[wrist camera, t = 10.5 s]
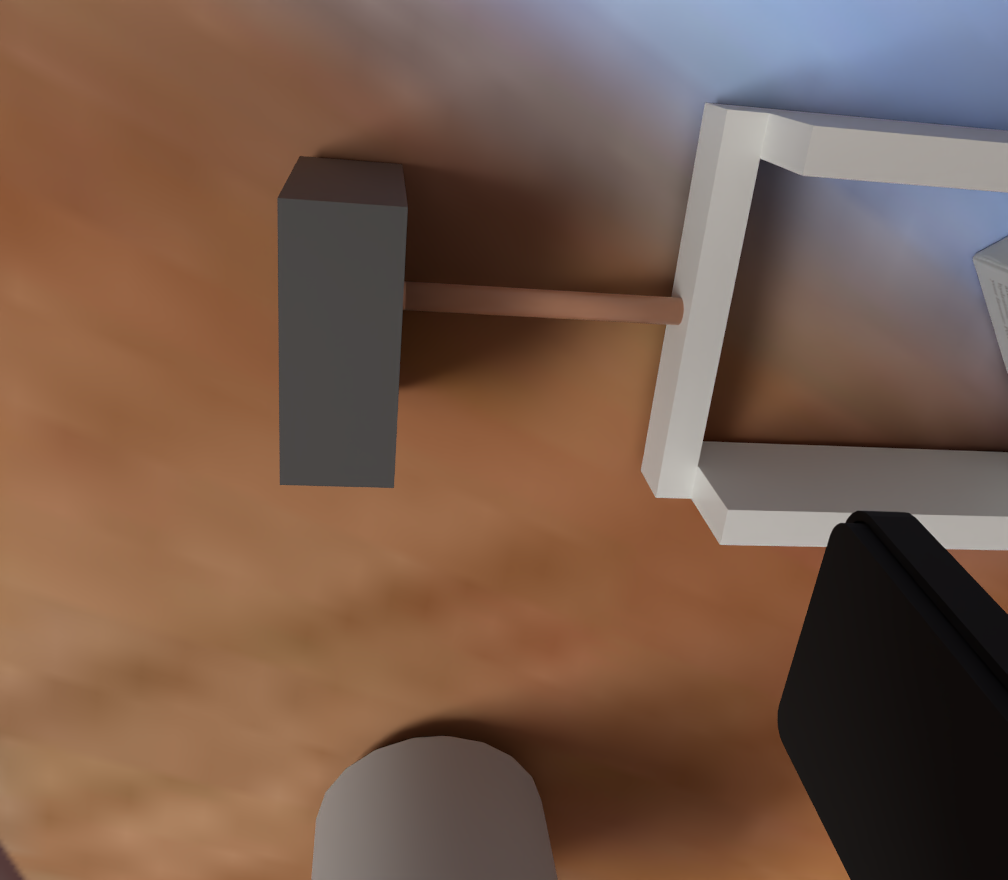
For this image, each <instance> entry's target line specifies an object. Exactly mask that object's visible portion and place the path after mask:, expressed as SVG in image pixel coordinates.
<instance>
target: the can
mask: <svg viewBox="0 0 1008 880" xmlns="http://www.w3.org/2000/svg"><path fill="white" fill-rule="evenodd" d="M312 880H558V879H557V874H556V869H555V864H554V859H553V854H552V849H551V844H550V839H549V835H548V830H547V825H546V820H545V815H544V810H543V805H542V801H541V798H540V796H539V793H538V791H537V788H536V785H535V783H534V780H533V778H532V776H531V775H530V774H529V773H528V772H527V771H526V770H525V769H524V768H523V767H522V766H521V765H520V764H519V763H518V762H517V761H516V760H515V759H514V758H513V757H512V756H510V755H508V754H506V753H504V752H502V751H500V750H498V749H496V748H494V747H492V746H490V745H488V744H486V743H484V742H478V741H473V740H467V739H462V738H456V737H451V736H430V737H415V738H411V739H408V740H405V741H402V742H399V743H395V744H392V745H389V746H386V747H383V748H380V749H377V750H374V751H373V752H371V753H370V754H368V755H367V756H365V757H363V758H362V759H360V760H359V761H357V762H356V763H354V764H352V765H351V766H349V767H348V768H346V769H345V770H344V771H343V773H342V774H341V775H340V776H339V777H338V779H337V780H336V781H335V782H334V783H333V784H332V786H331V787H330V788H329V789H328V790H327V791H326V793H325V796H324V798H323V801H322V804H321V807H320V810H319V813H318V815H317V818H316V828H315V841H314V854H313V867H312Z"/></svg>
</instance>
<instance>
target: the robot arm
mask: <svg viewBox="0 0 1008 880" xmlns="http://www.w3.org/2000/svg"><path fill="white" fill-rule="evenodd" d="M778 729H779V734H780V738H781V740H782V743H783V745H784V747H785V749H786V751H787V753H788V755H789V757H790V759H791V761H792V763H793V765H794V767H795V769H796V771H797V773H798V775H799V777H800V779H801V781H802V783H803V785H804V787H805V789H806V791H807V793H808V795H809V797H810V799H811V801H812V803H813V805H814V807H815V809H816V811H817V813H818V815H819V817H820V819H821V821H822V823H823V825H824V827H825V829H826V831H827V833H828V835H829V837H830V839H831V841H832V843H833V845H834V847H835V849H836V851H837V853H838V855H839V857H840V859H841V861H842V863H843V865H844V867H845V869H846V871H847V873H848V875H849V877H850V879H851V880H1008V614H1007V613H1006V612H1005V611H1004V610H1003V609H1002V608H1001V607H1000V606H999V605H998V604H997V603H996V602H995V601H994V600H993V599H992V598H991V596H990V595H989V594H988V593H987V592H986V591H985V590H984V589H983V588H982V587H981V586H980V585H979V584H978V583H977V582H976V581H975V580H974V579H973V577H972V576H971V575H970V574H969V573H968V572H967V571H966V570H965V569H964V568H963V567H962V566H961V565H960V564H959V563H958V562H957V561H956V560H955V559H954V557H953V556H952V555H951V554H950V553H949V552H948V551H947V550H946V549H945V548H944V547H943V546H942V545H941V544H940V543H939V542H938V541H937V540H936V538H935V537H934V536H933V535H932V534H931V533H930V532H929V531H928V530H927V529H926V528H925V527H924V526H923V525H922V524H921V523H920V522H919V521H918V519H917V518H916V517H914V516H913V515H911V514H910V513H906V512H888V511H856V512H854V513H852V514H851V515H850V516H849V517H848V519H847V520H846V523H839V524H837V525H836V526H835V527H834V528H833V529H832V532H831V534H830V537H829V540H828V544H827V547H826V550H825V554H824V557H823V560H822V564H821V567H820V570H819V574H818V577H817V580H816V584H815V587H814V590H813V594H812V597H811V600H810V604H809V607H808V611H807V614H806V617H805V621H804V624H803V627H802V631H801V634H800V637H799V641H798V644H797V647H796V651H795V654H794V657H793V661H792V664H791V667H790V671H789V674H788V677H787V681H786V684H785V688H784V691H783V694H782V698H781V701H780V704H779V709H778Z"/></svg>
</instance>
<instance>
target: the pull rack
mask: <svg viewBox="0 0 1008 880" xmlns="http://www.w3.org/2000/svg"><path fill="white" fill-rule="evenodd" d="M760 159H763V160H765V161H767V162H770V163H772V164H775V165H777V166H780V167H782V168H785V169H787V170H789V171H792V172H794V173H797V174H799V175H802V176H811V177H824V178H836V179H848V180H860V181H873V182H885V183H897V184H909V185H922V186H934V187H946V188H958V189H970V190H983V191H995V192H1007V193H1008V131H1006V130H996V129H985V128H974V127H963V126H953V125H942V124H931V123H920V122H909V121H899V120H888V119H877V118H866V117H855V116H845V115H834V114H823V113H812V112H801V111H791V110H780V109H769V108H758V107H747V106H737V105H726V104H715V103H705V107H704V112H703V118H702V124H701V129H700V135H699V141H698V147H697V152H696V158H695V164H694V170H693V175H692V181H691V187H690V193H689V198H688V204H687V210H686V215H685V221H684V227H683V233H682V238H681V244H680V250H679V256H678V261H677V267H676V273H675V279H674V284H673V290H672V296H671V297H661V296H644V295H627V294H611V293H594V292H577V291H561V290H544V289H527V288H510V287H494V286H477V285H460V284H443V283H427V282H410V281H404V274H405V254H406V234H407V214H408V205H407V197H406V189H405V182H404V174H403V166H402V164H393V163H380V162H367V161H355V160H342V159H329V158H316V157H304V156H300V157H299V159H298V161H297V163H296V164H295V166H294V168H293V170H292V172H291V174H290V176H289V178H288V179H287V181H286V183H285V185H284V187H283V189H282V191H281V192H280V194H279V196H278V308H279V432H280V485H306V486H344V487H381V488H394V474H395V454H396V434H397V414H398V394H399V374H400V354H401V334H402V314H403V310H412V311H431V312H449V313H467V314H485V315H503V316H521V317H539V318H558V319H576V320H594V321H612V322H630V323H648V324H666V330H665V336H664V342H663V347H662V353H661V359H660V365H659V370H658V376H657V382H656V388H655V393H654V399H653V405H652V410H651V416H650V422H649V428H648V433H647V439H646V445H645V451H644V456H643V462H642V468H641V472H642V474H643V475H644V477H645V479H646V481H647V483H648V484H649V486H650V488H651V490H652V492H653V493H654V495H655V497H656V498H690V499H692V501H693V502H694V504H695V505H696V507H697V509H698V510H699V512H700V513H701V515H702V517H703V518H704V520H705V521H706V523H707V525H708V526H709V528H710V529H711V531H712V533H713V534H714V536H715V537H716V539H717V541H718V542H719V544H720V545H757V546H811V547H827V544H828V540H829V537H830V534H831V532H832V529H833V528H834V527H835V526H836V525H837V524H839V523H846V520H847V519H848V517H849V516H850V515H851V514H852V513H854V512H856V511H888V512H906V513H910V514H911V515H913V516H914V517H916V518H917V519H918V521H919V522H920V523H921V524H922V525H923V526H924V527H925V528H926V529H927V530H928V531H929V532H930V533H931V534H932V535H933V536H934V537H935V538H936V540H937V541H938V542H939V543H940V544H941V545H942V546H943V547H944V548H945V549H971V550H1008V452H987V451H959V450H931V449H903V448H875V447H847V446H820V445H792V444H764V443H736V442H708V441H703V438H704V433H705V428H706V423H707V418H708V413H709V408H710V403H711V398H712V393H713V388H714V383H715V378H716V374H717V369H718V364H719V359H720V354H721V349H722V344H723V339H724V334H725V329H726V324H727V319H728V314H729V309H730V304H731V299H732V295H733V290H734V285H735V280H736V275H737V270H738V265H739V260H740V255H741V250H742V245H743V240H744V235H745V230H746V225H747V220H748V216H749V211H750V206H751V201H752V196H753V191H754V186H755V181H756V176H757V171H758V166H759V161H760Z"/></svg>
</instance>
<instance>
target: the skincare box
mask: <svg viewBox="0 0 1008 880" xmlns="http://www.w3.org/2000/svg"><path fill="white" fill-rule="evenodd" d="M973 262H974V266H975V269H976V272H977V275H978V278H979V281H980V285H981V288H982V291H983V295H984V298H985V301H986V304H987V308H988V311H989V314H990V317H991V321H992V324H993V327H994V331H995V334H996V337H997V341H998V344H999V347H1000V351H1001V354H1002V357H1003V360H1004V363H1005V367H1006V370H1007V373H1008V237H1006V238H1004V239H1002V240H1000V241H998V242H997V243H995V244H993V245H991V246H989V247H987V248H985V249H983V250H982V251H980V252H978V253H976V254H975V255H974V256H973Z"/></svg>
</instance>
